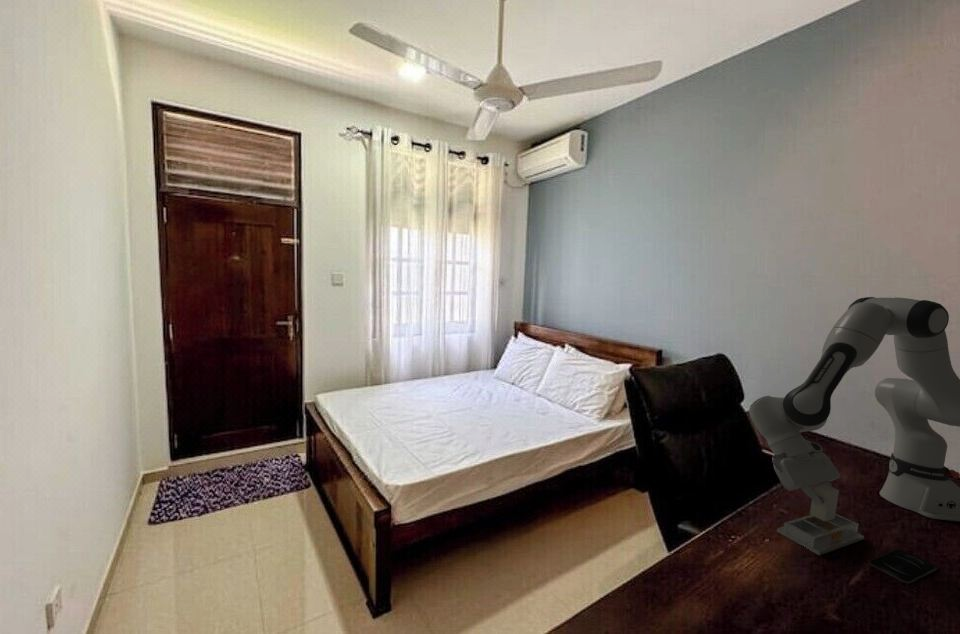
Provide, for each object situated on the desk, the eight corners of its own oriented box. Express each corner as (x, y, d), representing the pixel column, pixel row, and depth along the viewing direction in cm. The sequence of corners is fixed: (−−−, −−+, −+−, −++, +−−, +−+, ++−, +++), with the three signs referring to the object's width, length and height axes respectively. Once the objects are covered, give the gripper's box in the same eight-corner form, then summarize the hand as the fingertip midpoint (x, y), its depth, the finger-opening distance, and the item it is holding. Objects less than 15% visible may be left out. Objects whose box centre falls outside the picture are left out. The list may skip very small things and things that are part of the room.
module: (819, 511, 112) (823, 483, 111) (834, 518, 109) (839, 490, 108) (809, 514, 110) (813, 486, 109) (824, 521, 107) (829, 492, 106)
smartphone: (867, 561, 100) (898, 547, 106) (866, 565, 100) (897, 551, 106) (908, 583, 93) (939, 567, 99) (907, 586, 93) (938, 570, 99)
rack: (820, 518, 118) (822, 506, 118) (863, 539, 109) (865, 527, 109) (776, 531, 111) (778, 519, 110) (819, 555, 102) (821, 542, 101)
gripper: (778, 451, 110) (814, 505, 102) (823, 443, 118) (859, 492, 110) (759, 460, 115) (792, 512, 107) (804, 451, 123) (837, 499, 115)
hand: (827, 502), depth 108 cm, fingers closed on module, 4 cm apart
